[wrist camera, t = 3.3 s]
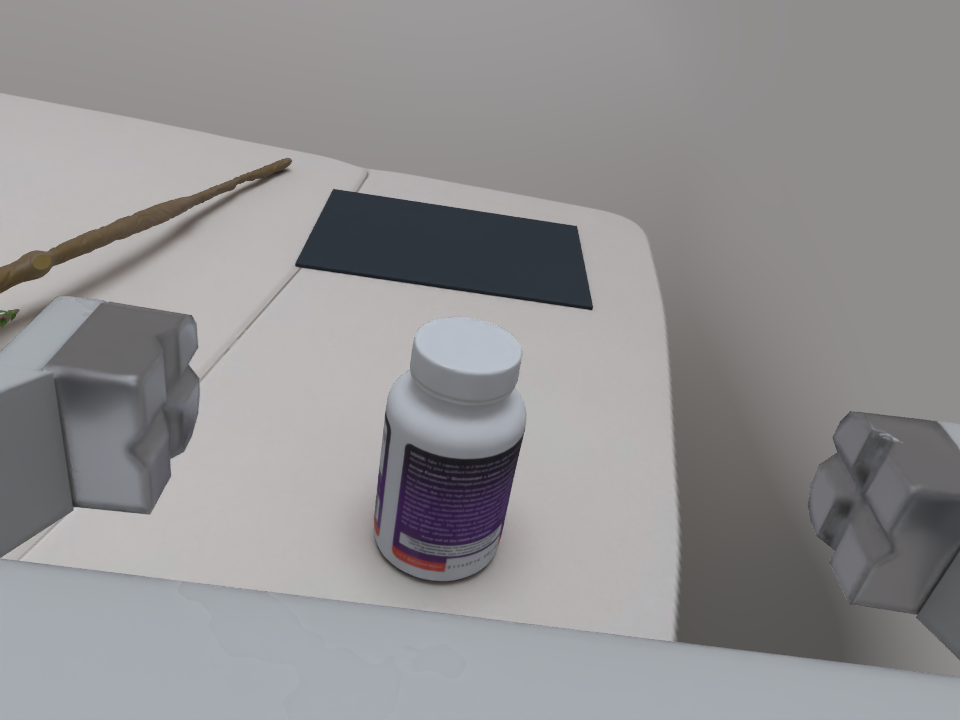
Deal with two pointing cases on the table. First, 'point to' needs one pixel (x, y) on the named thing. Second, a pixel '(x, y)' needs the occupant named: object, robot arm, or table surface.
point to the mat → (448, 248)
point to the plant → (114, 233)
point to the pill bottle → (450, 450)
